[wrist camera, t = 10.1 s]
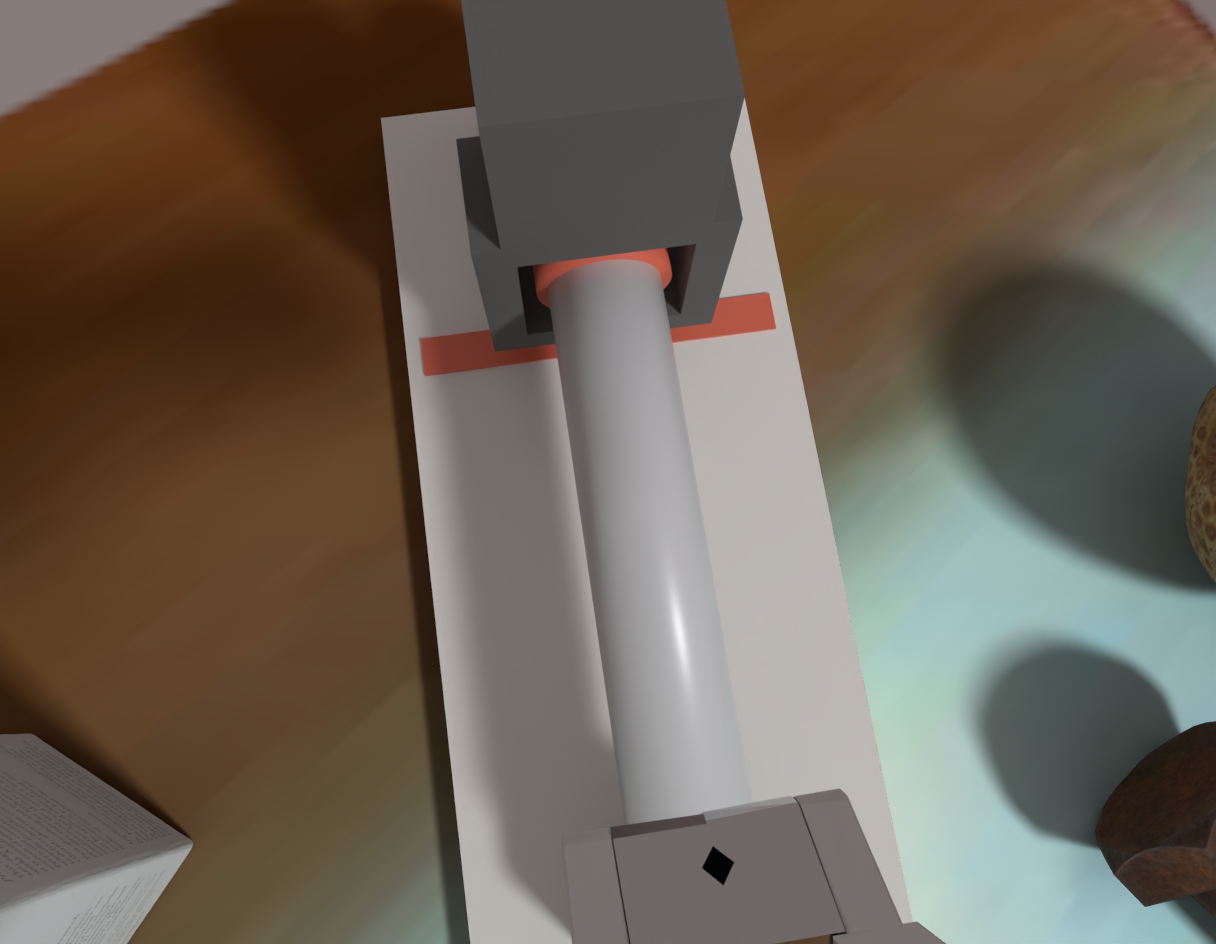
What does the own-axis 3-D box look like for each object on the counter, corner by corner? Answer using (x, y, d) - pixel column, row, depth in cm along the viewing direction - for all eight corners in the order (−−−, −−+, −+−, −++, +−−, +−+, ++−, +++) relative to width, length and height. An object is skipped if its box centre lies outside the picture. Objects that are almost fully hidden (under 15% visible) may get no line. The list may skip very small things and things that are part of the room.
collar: (711, 323, 30) (781, 90, 19) (495, 351, 30) (440, 132, 19) (694, 230, 31) (753, -45, 20) (482, 258, 31) (423, -8, 20)
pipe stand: (904, 928, 29) (1016, 1000, 21) (481, 999, 28) (441, 1099, 21) (735, 92, 35) (776, -81, 28) (386, 135, 35) (329, -30, 27)
